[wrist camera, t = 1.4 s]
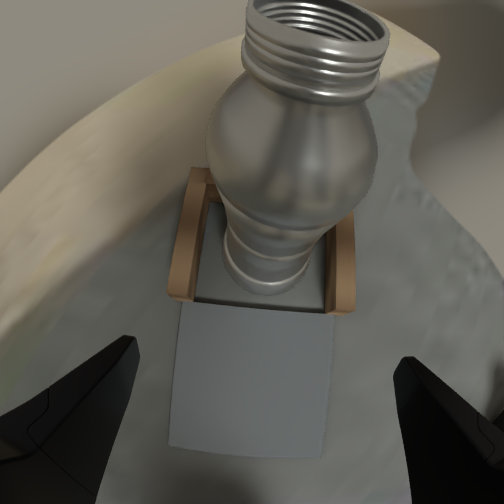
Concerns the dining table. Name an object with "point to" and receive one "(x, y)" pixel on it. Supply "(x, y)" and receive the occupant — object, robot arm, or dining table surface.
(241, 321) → the felt coaster
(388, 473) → the dining table surface
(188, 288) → the walnut collar
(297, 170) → the plastic bottle
